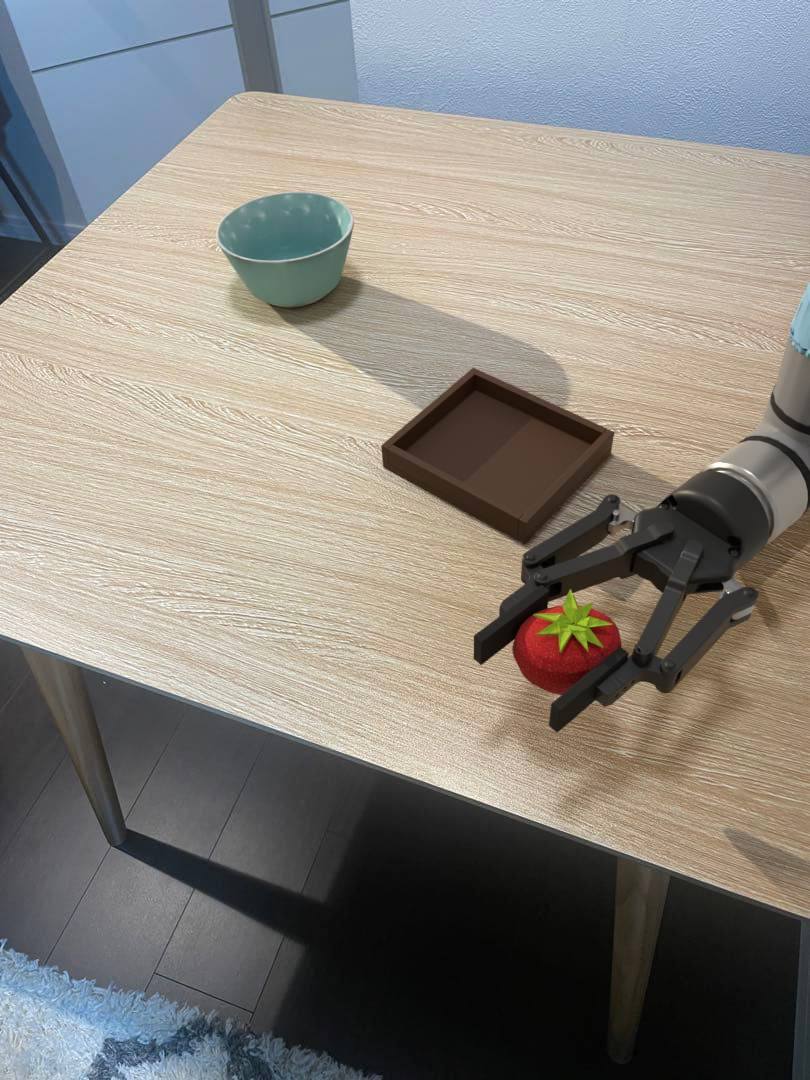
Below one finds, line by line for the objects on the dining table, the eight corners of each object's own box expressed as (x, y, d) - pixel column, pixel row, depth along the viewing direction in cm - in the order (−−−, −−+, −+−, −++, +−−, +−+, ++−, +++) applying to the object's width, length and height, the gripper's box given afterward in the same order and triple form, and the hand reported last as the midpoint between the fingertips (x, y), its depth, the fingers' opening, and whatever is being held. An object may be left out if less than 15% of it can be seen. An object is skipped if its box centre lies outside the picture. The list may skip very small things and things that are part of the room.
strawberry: (501, 664, 69) (505, 579, 61) (598, 648, 69) (614, 562, 62) (520, 732, 65) (527, 651, 57) (623, 715, 65) (644, 632, 58)
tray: (611, 453, 88) (614, 431, 86) (524, 544, 81) (526, 523, 79) (473, 388, 96) (473, 367, 94) (382, 466, 89) (380, 445, 86)
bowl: (204, 287, 111) (189, 224, 105) (307, 237, 117) (299, 176, 111) (279, 343, 103) (267, 278, 96) (386, 286, 109) (381, 223, 103)
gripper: (829, 615, 67) (621, 812, 58) (624, 480, 78) (420, 629, 68) (861, 547, 62) (637, 753, 52) (637, 412, 72) (416, 564, 63)
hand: (515, 683), depth 60 cm, fingers closed on strawberry, 6 cm apart
